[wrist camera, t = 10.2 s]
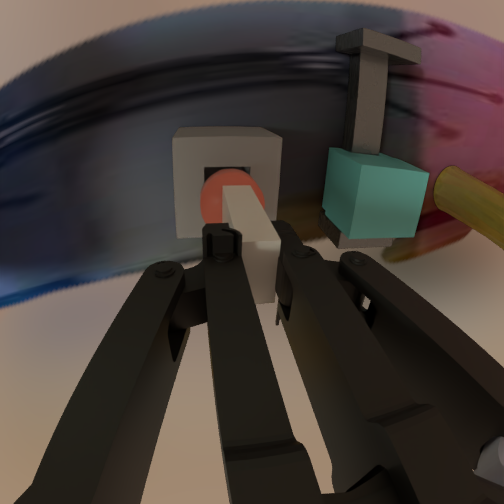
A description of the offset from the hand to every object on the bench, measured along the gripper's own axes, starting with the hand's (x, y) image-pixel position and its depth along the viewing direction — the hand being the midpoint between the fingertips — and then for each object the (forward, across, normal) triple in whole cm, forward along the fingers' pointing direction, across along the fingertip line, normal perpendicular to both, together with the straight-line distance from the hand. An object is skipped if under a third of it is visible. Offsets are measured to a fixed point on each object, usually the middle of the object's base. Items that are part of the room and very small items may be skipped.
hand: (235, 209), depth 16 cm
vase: (+11, +28, -1) cm, 30 cm away
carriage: (+11, +13, -1) cm, 17 cm away
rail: (+11, +13, +4) cm, 17 cm away
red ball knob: (+6, 0, 0) cm, 6 cm away
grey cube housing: (+11, 0, 0) cm, 11 cm away
